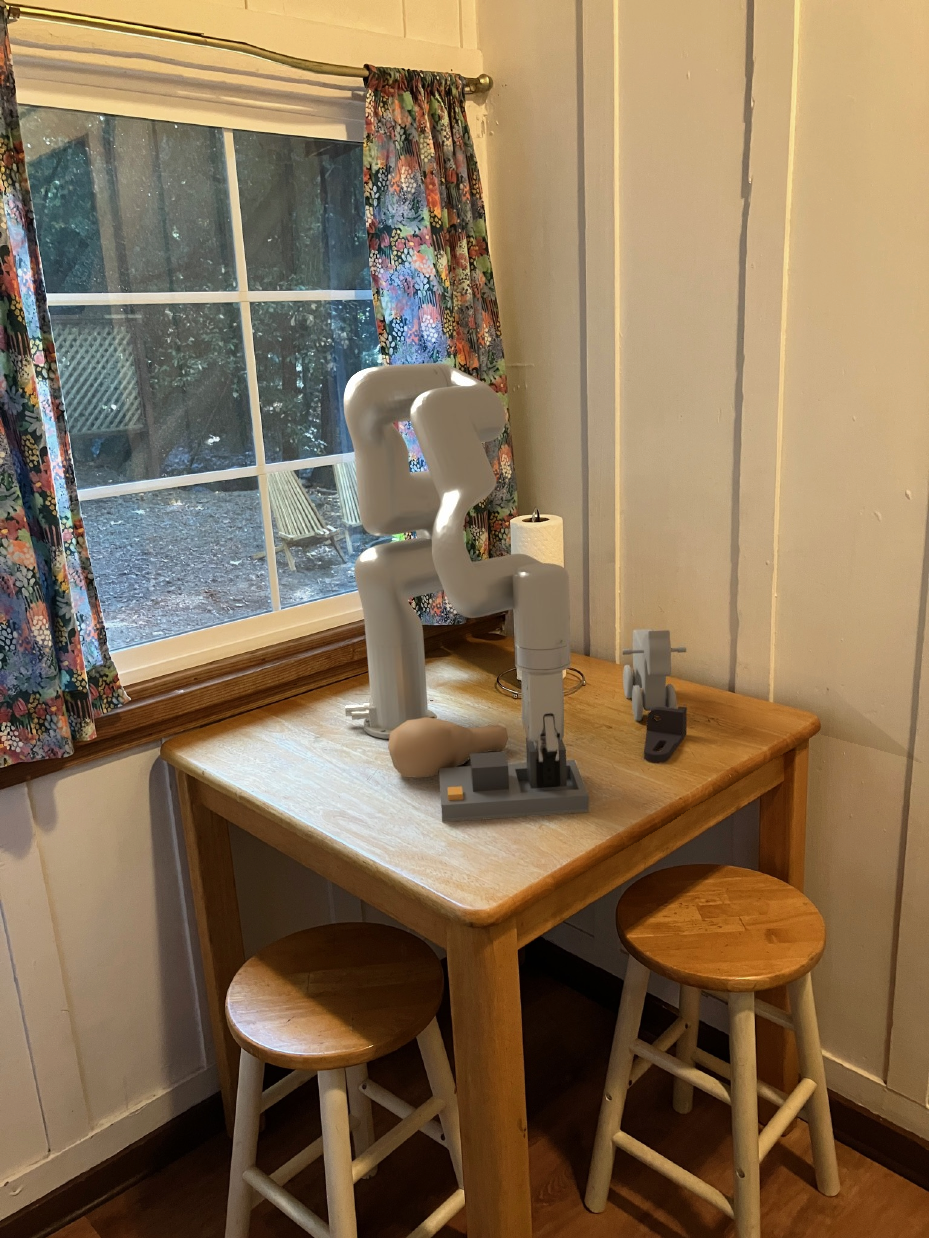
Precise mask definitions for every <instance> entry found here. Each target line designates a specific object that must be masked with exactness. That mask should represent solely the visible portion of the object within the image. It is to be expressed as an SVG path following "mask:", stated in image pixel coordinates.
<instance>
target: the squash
mask: <svg viewBox="0 0 929 1238" xmlns="http://www.w3.org/2000/svg"><path fill="white" fill-rule="evenodd" d="M508 735H509V734H508V729H507V726H506V727H505V726H503V725H499V724H487V725H484V726H479V727H470V726H469V727H467V726H463V725H460V724H457V723H454V722H451V721H447V720H443V719H441V718H438V717H437V718H426V717H424V718H420V719H414V720H407V721H406V722H404V723H403V724H401V725H400V726H399V727H397V728H396V729H394V730H393V731H392V732H390V738H389V739H388V744H387V745H388V746H387V749H388V751H389V755H390V758H391V759H390V760H391V762H392V766H393V768H395V770H396V771H397V773H399V775H400V776H402V777H405V778H406V777H407V778H429V777H434V776H437V775H439V768H451V767H460V766H461V765H464V764H465V763H466V762H467V761H470V754H474V753H489V752H503V750H505V749H507V748H506V747H507V744H508V742H509V736H508Z"/></svg>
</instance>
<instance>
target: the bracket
mask: <svg viewBox="0 0 929 1238" xmlns="http://www.w3.org/2000/svg"><path fill="white" fill-rule="evenodd" d="M687 708H688V707H687V706H680V705H679V706H678V707H677V709H673V708H665V707H655V708H653V709H652V710H651V711H649V712H648V713H647V715H646V734H645V742H644V749H643V750H644V751H643V758H644V761H646V762H647V763H652V764H664V763H667V762H669V760H670V759H671V757H673V755H674V753H675V752H676V750H677V749H678V747H679V746H680V745H681V743H682V742H683V740H684V738H685V737H686V736H687V721H688V719H687V716H688V709H687ZM656 717H658V718H659V720H658V719H656Z"/></svg>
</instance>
